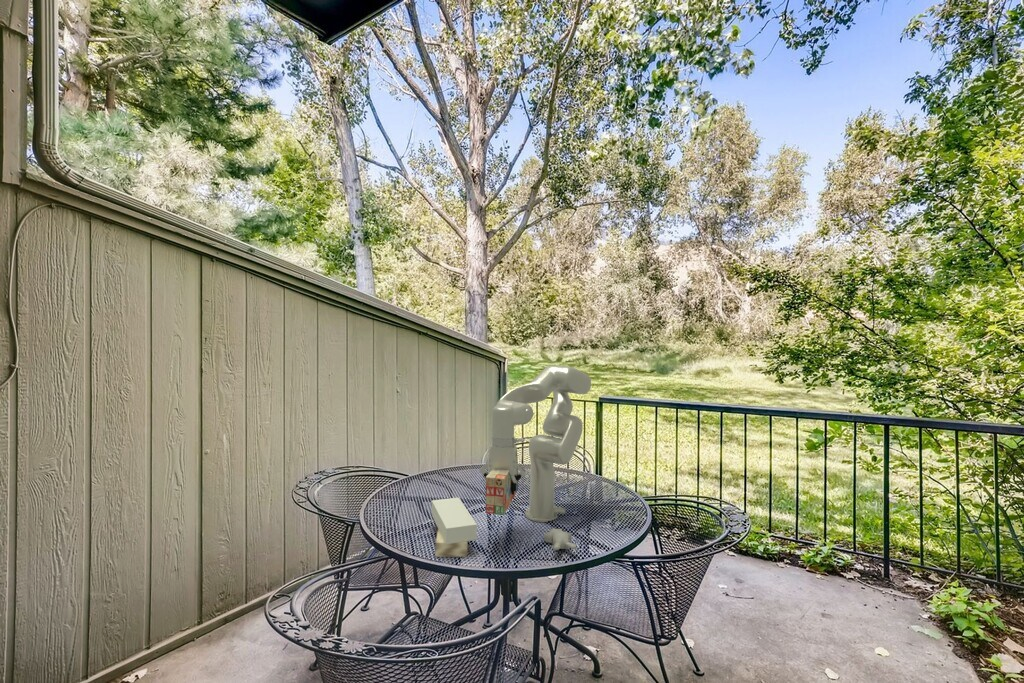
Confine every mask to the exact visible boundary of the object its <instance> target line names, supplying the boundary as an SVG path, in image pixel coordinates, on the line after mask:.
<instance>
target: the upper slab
mask: <svg viewBox="0 0 1024 683" xmlns="http://www.w3.org/2000/svg"><path fill="white" fill-rule="evenodd" d="M430 512H431V516H432V518H433V520H434V523H435V524H436V526H437V530H438V529H439V531H440V533H441V535H442V537H443V539H444V541H445V543H446V544H451V543H458V542H465V541H468V542H471V541H476V540H477V536H478V535H477V534H478V524H477V521H475V519H474V518H473V517H472V515H471V514H470V512H469V511H468V509H467V508H466V506H465V505H464V503H463V502H462V500H461V499H460V497H451V498H441V499H434V500H431V511H430Z"/></svg>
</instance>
